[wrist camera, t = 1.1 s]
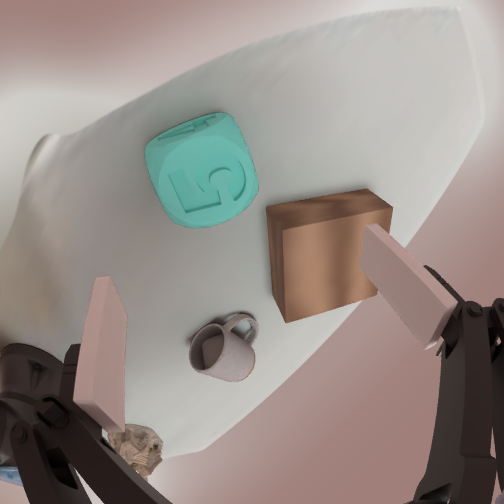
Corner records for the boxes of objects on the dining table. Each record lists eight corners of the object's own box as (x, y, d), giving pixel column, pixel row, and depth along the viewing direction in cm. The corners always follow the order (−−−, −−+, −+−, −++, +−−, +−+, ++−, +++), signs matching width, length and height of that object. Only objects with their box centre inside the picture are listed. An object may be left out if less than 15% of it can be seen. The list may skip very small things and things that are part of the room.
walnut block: (272, 293, 43) (285, 323, 38) (265, 205, 35) (282, 230, 30) (356, 270, 45) (376, 295, 40) (366, 187, 37) (393, 207, 32)
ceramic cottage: (148, 451, 66) (154, 497, 54) (97, 435, 58) (98, 485, 45) (180, 433, 64) (190, 484, 51) (125, 414, 55) (129, 472, 43)
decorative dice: (147, 138, 27) (139, 158, 20) (222, 108, 27) (238, 118, 21) (177, 203, 32) (179, 241, 25) (245, 176, 32) (267, 206, 25)
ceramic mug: (221, 358, 48) (230, 394, 42) (185, 340, 43) (191, 380, 37) (266, 323, 46) (282, 359, 40) (233, 301, 42) (246, 340, 36)
